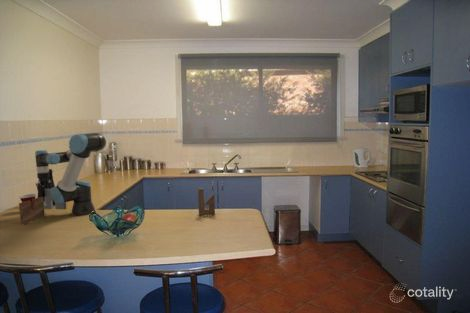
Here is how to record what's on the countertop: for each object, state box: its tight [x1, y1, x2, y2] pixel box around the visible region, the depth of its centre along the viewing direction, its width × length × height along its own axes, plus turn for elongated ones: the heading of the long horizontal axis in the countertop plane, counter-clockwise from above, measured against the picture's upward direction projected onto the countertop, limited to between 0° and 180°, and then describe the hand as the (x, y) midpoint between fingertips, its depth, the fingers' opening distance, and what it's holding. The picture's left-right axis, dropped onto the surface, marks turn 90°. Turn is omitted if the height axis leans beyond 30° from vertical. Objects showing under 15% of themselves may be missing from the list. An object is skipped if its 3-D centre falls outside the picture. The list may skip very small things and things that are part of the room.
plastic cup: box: [18, 193, 37, 210], centre depth 259 cm, size 11×11×12 cm
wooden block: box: [197, 187, 216, 217], centre depth 238 cm, size 4×11×18 cm, turn 98°
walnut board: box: [18, 197, 46, 225], centre depth 234 cm, size 2×18×14 cm, turn 167°
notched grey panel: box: [44, 189, 67, 210], centre depth 249 cm, size 18×2×14 cm, turn 77°
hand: (46, 205), depth 251 cm, fingers closed on notched grey panel, 2 cm apart
